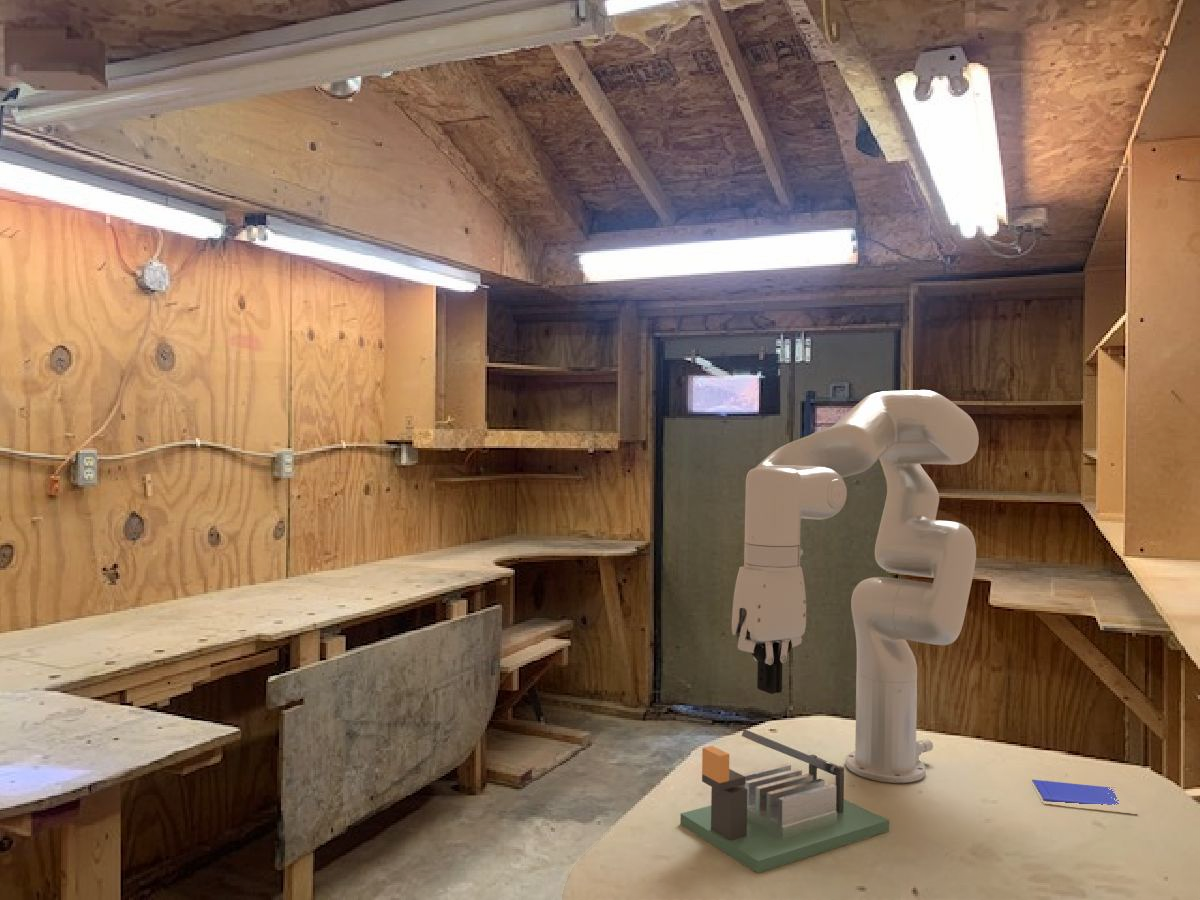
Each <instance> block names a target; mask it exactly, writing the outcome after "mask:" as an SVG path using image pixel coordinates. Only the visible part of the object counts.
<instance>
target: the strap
mask: <svg viewBox="0 0 1200 900" xmlns="http://www.w3.org/2000/svg"><path fill="white" fill-rule="evenodd" d="M741 737H743V738H745V739H747V740H750V741H752V742H755V743H757V744H759V745H761V746H764V747H766V748H769V749H771V750H774V751H777V752H779V753H781V754H784V755H786V756H790V757H791V758H794V759H797V760H799V761H801V762H804V763H807V764H808V765H809V764H811V765H814V766H815V767H817V769H819V770H821V771H823V772H825V773H828V774H831V775H833V776H836V767H837V766H838V765H837V764H835V763H832V762H830V761H828V760H826V759H823V758H821V757H818V756H817V758H815V757H812V756H810V755H811V754H808V753H805V752H801V751H799V750H797V749H795V748H792V747H790V746H787V745H785V744H782V743H781V742H780V743H779V742H777V741H775V740H772V739H770V738H768V737H765V736H763V735H760V734H757V733H755V732H752V731H750V730H748V729H746V728H744V729H743V730H742V734H741Z"/></svg>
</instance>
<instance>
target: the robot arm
mask: <svg viewBox="0 0 1200 900" xmlns="http://www.w3.org/2000/svg"><path fill="white" fill-rule="evenodd" d="M979 436H980V435H979V431H978V428H977V426H976V423H975V422H974V420H973V418H972V417H971V416H970V415H969V414H968V413H967V412H966V411H964V410H963V409H962V408H961V407H959V406H958V405H956V404H955V403H954V402H952V401H951V400H950V399H949V398H946V397H945V396H944V395H942V394H940V393H938V392H936V391H932V390H928V389H927V390H926V389H920V390H918V389H917V390H915V389H914V390H913V389H912V390H888V391H886V390H885V391H879V392H874V393H871V394H869V395H867V396H865V397H864V398H863V399H862V400H860V401H859V402H858V403H857V404H856V405H854V406H853V407H852V408H851V409H850V410H849V411H848V412H847V413H846V414H844V416H842V417H841V418H840V419H839V420H838V421H836V422H835V423H834V424H833V425H832V426H830V427H827V428H824V429H821V430H819V431H816V432H813V433H811V434H809V435H807V436H804V437H802V438H799V439H796V440H793V441H791V442H788V443H787V444H786V443H785V445H782V446H780V447H779V448H777V449H775V450H774V451H772V452H771V453H770V454H769V455H768V456H766V458H764V459H763V460H762V461H761V462H760V463H759V464H757V466H756V467H754V468H751V469H750V470H749V471H748V472H747V473H746V477H745V499H744V500H745V502H744V503H745V504H744V505H745V506H744V509H745V511H744V513H745V514H744V551H743V552H744V555H743V558H744V559H743V560H744V561H743V563H744V565H743V566H739V569H738V573H737V576H736V581H735V585H734V592H733V600H732V612H731V614H732V615H731V634H732V635H733V637H736V638H738V641H737V650H740V651H742V652H746V653H750V654H751V655H752V657H753V659H754V661H756V662H757V675H756V676H757V682H756V683H757V684H756V685H757V689H758V690H760V691H762V692H765V693H768V694H770V695H774V694H779V693H782V692H783V664H785V663H786V661H787V659H788V654H789V652H790V651H791V650H792V648H793V649H794V648H795V647H797V646H799V645H801V644H802V643H803V642H802V641H803V638H802V636H803V635H804V634H805V631H806V627H807V598H806V597H807V595H806V585H805V584H806V583H805V578H804V572H803V568H802V567H801V557H802V556H803V555H804V549H803V548H802V547H801V524H802V523H801V521H802V519H806V520H827V519H829V518H832V517H835V516H836V515H837V514H839V512H841V510H842V509H843V508H844V506H845V503H846V501H847V497H848V496H847V485H846V482H845V481H844V479H843V478H846V477H850V476H853V475H858V474H860V473H864V472H866V471H867V470H869V469H870V468H871V467H872V466H873V465H874V464H875V463H876V462H877V461H878V460H879V462H880V465H881V467H882V470H883V475H884V477H885V480H886V490H887V491H886V498H885V503H884V507H883V511H882V514H881V520H880V524H879V528H878V532H877V536H876V540H875V546H874V560H875V561H876V563H877V565H878V566H879V567H880V568H882V570H884V571H886V572H887V571H888V572H890V573H895V574H900V575H908V576H916V577H924V578H931V579H933V582H924V581H917V580H910V579H903V578H896V577H895V578H894V577H886V576H885V577H884V576H883V577H882V576H876V577H874V576H873V577H869V578H866V579H863V580H861V581H860V582H858V583H857V585H856V586H855V588H854V589H853V592H852V595H851V598H850V599H851V601H850V604H851V605H850V609H851V615H852V621H853V627H854V632H855V643H856V681H855V683H856V685H855V688H856V689H855V690H856V691H855V694H856V695H855V741H854V742H855V748H854V749H855V750H854V751H852V752H850V753H848V754H846V756H845V767H846V768H847V769H848V770H849V771H850V772H852V773H853V774H856V775H858V776H860V777H862V778H866V779H869V780H871V781H872V780H873V781H877V782H883V783H893V784H902V783H903V784H906V783H913V782H917V781H920V780H922V779H924V778H925V776H926V774H927V767H926V765H925V763H923V762H922V761H921V760H920V756H921V755H922V753H927V752H931V751H932V750H934V749H933V748H934V745H933V742H932V741H931V740H930V739H928V738H926V739H921V740H917V715H918V713H917V708H918V705H917V704H918V665H917V660H916V657H915V655H914V653H913V651H912V649H911V647H910V646H909V643H908V642H907V641H912V642H916V643H917V642H918V643H923V644H928V645H929V644H930V645H935V646H936V645H937V646H948V645H951V644H953V643H954V642H955V641H956V640H957V639H958V638H959V636H960V634H961V631H962V628H963V626H964V621H965V618H966V617H965V616H966V612H967V608H968V602H969V598H970V597H969V596H970V593H971V587H972V582H973V577H974V572H975V567H976V562H977V545H976V541H975V540H976V539H975V537H974V534H973V533H972V531H971V530H970V529H969V527H968V526H966V525H964V524H963V523H961V522H957V521H950V520H938V519H936V518H937V515H938V514H937V513H938V509H939V503H940V495H939V492H938V489H937V487H936V485H935V483H934V481H933V480H932V479H931V478H930V476H929V475H928V473H927V472H926V471H925V470H924V468H923V467H922V465H950V466H953V465H962V464H966V463H968V462H969V461H971V460H972V459H973V457H974V456H975V455H976V453H977V451H978V447H979V443H980V442H979V441H980V440H979V439H980V437H979Z"/></svg>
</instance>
